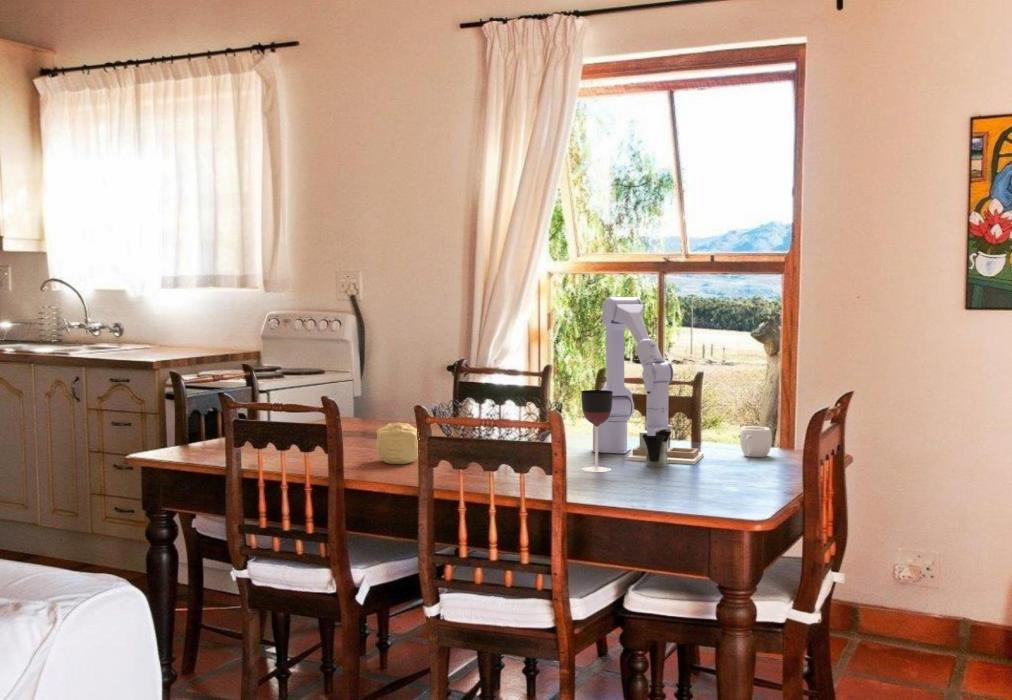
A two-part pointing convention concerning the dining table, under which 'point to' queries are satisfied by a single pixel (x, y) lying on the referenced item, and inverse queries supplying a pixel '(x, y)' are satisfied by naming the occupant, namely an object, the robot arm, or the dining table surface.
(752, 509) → the dining table surface
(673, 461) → the puzzle board
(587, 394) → the wineglass
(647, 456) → the green block
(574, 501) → the dining table surface
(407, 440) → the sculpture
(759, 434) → the mug
